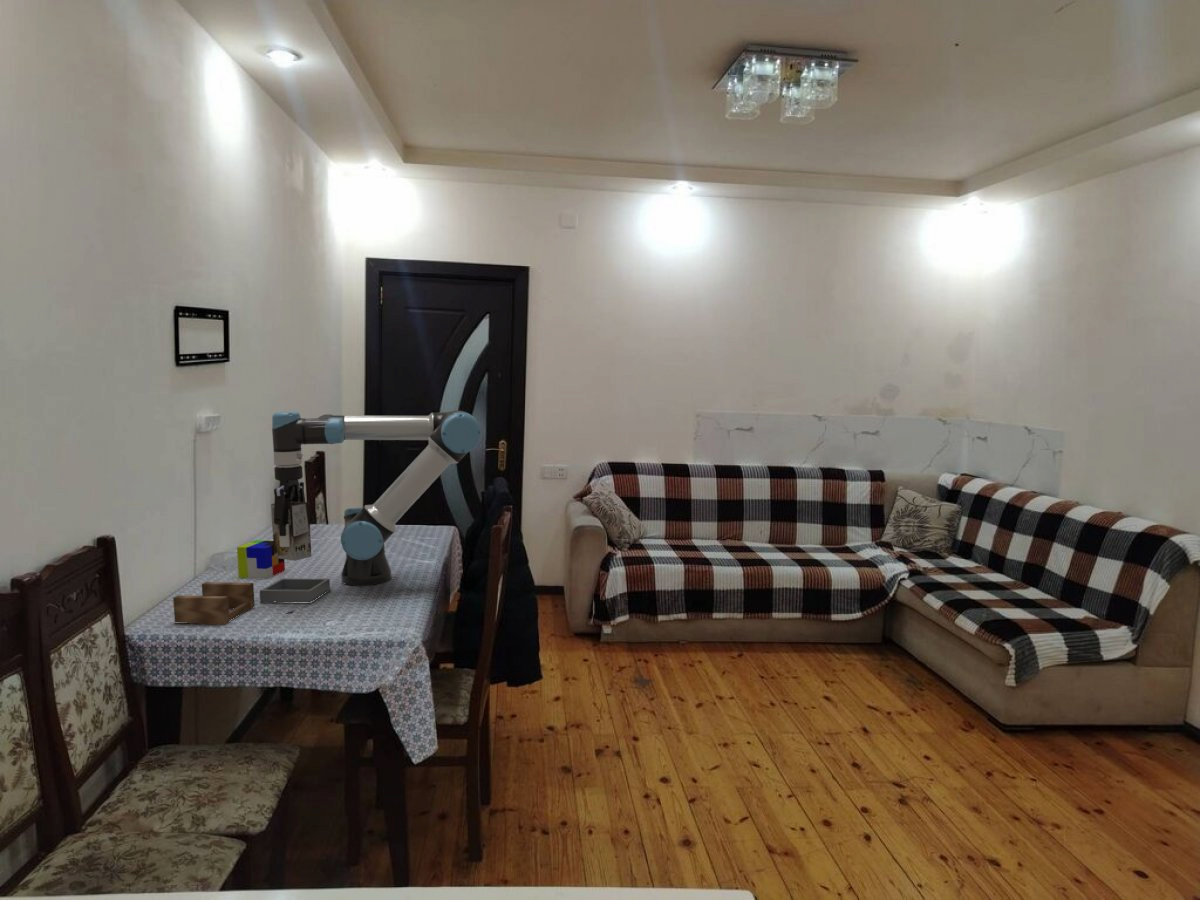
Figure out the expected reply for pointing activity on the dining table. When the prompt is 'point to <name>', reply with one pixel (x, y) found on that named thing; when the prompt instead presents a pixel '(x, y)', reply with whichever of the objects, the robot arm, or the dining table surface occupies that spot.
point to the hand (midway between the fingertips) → (292, 543)
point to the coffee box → (294, 533)
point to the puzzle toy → (258, 560)
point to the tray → (294, 590)
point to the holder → (215, 603)
